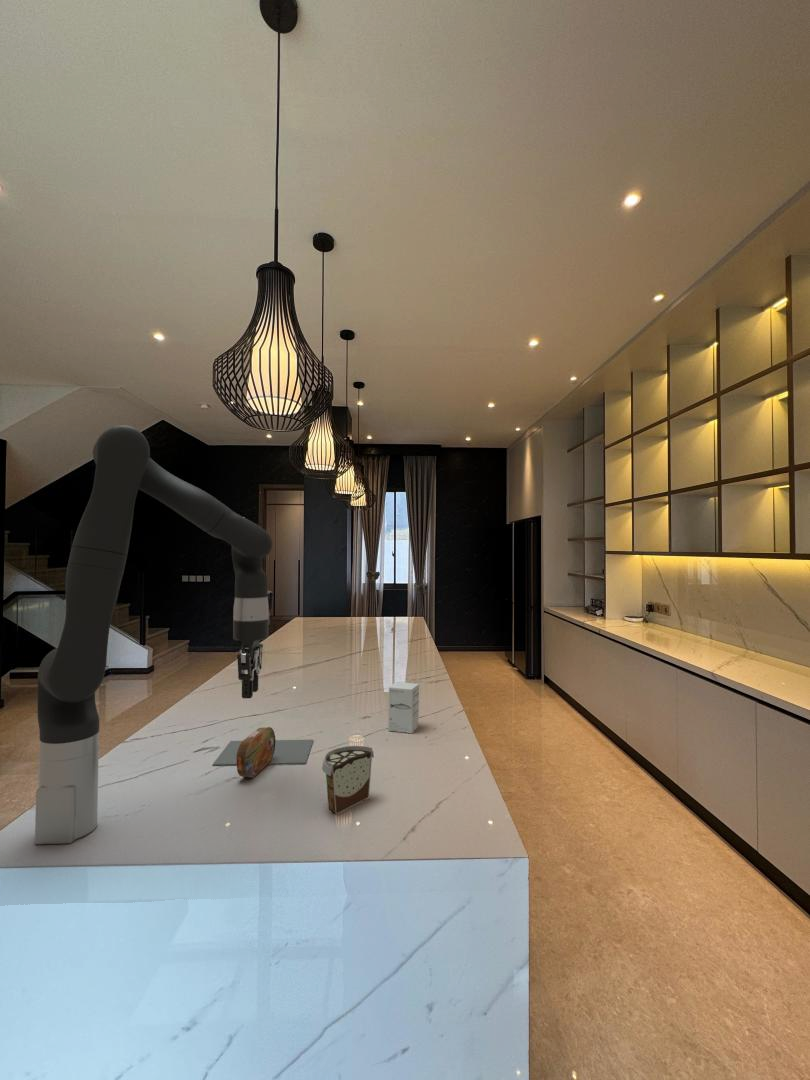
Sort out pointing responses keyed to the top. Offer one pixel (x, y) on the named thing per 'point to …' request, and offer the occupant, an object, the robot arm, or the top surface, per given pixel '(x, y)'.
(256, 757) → the tin
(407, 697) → the supplement box
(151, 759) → the top surface
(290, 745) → the mat
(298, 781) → the top surface
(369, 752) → the food container
